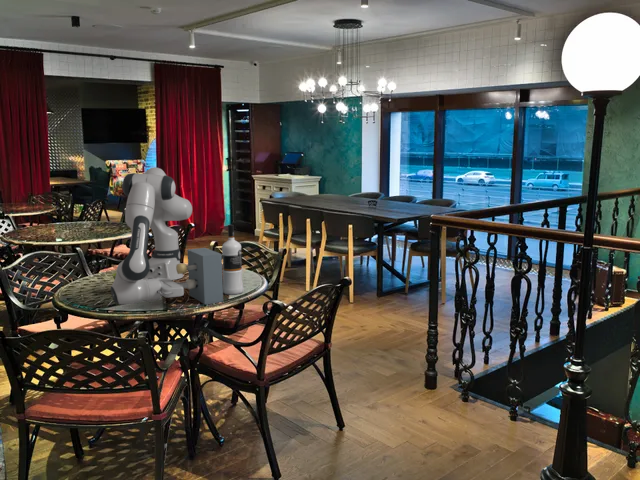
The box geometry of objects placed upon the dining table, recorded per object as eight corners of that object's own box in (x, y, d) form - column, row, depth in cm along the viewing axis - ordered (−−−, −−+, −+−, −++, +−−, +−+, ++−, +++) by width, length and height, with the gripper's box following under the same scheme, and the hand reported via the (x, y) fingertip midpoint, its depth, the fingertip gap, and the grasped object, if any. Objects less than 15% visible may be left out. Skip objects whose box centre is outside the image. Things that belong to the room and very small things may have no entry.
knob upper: (179, 274, 237) (179, 265, 236) (176, 273, 240) (176, 263, 240) (211, 270, 244) (210, 261, 243) (207, 269, 247) (207, 259, 247)
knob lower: (189, 290, 240) (188, 280, 239) (185, 288, 243) (185, 279, 243) (219, 285, 247) (219, 276, 246) (216, 284, 250) (215, 274, 250)
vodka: (231, 289, 262) (228, 222, 257) (248, 291, 258) (246, 224, 253) (218, 293, 254) (215, 225, 249) (235, 296, 250) (233, 226, 245)
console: (204, 304, 237) (202, 256, 234) (189, 295, 252) (187, 249, 249) (223, 301, 241) (221, 254, 238) (206, 292, 256) (205, 247, 253)
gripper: (161, 287, 225) (195, 282, 232) (146, 277, 242) (178, 273, 249) (162, 303, 226) (196, 297, 233) (147, 291, 243) (179, 287, 250)
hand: (187, 284), depth 241 cm, fingers closed, pressing on knob lower
